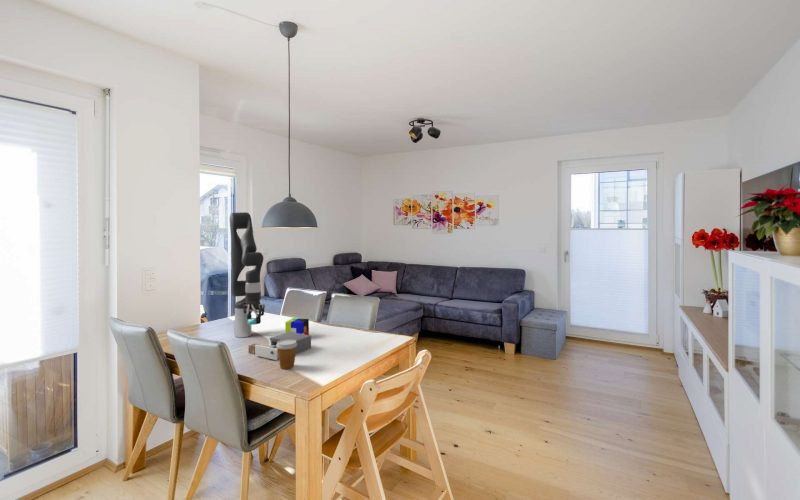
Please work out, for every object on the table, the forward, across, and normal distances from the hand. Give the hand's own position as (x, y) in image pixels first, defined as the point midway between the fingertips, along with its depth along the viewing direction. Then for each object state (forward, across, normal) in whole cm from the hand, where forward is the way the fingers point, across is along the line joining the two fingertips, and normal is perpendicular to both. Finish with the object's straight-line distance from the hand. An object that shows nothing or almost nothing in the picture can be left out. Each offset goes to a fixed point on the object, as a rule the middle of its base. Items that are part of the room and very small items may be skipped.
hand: (253, 322), depth 207 cm
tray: (+15, +13, +2) cm, 20 cm away
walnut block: (+16, 0, 0) cm, 16 cm away
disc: (0, 0, 0) cm, 0 cm away
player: (+16, +13, +13) cm, 24 cm away
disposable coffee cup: (+16, +30, -7) cm, 35 cm away
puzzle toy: (+16, -1, +33) cm, 37 cm away
